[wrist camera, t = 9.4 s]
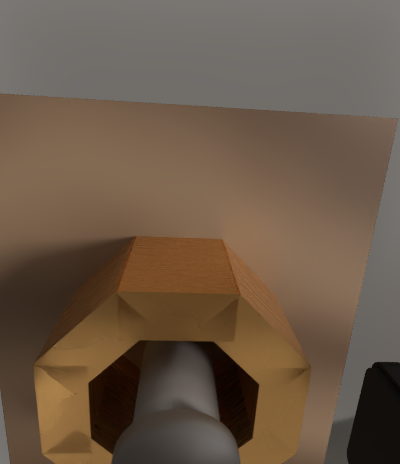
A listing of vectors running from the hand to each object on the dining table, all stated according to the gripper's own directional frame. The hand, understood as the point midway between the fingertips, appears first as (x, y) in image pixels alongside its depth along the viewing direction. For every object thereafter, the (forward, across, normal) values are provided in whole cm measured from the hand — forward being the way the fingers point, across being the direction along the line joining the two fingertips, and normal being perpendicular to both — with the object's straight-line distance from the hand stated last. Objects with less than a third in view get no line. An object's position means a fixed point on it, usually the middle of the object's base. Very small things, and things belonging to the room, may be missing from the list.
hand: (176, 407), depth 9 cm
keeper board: (+4, 0, 0) cm, 4 cm away
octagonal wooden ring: (+4, 0, 0) cm, 4 cm away
